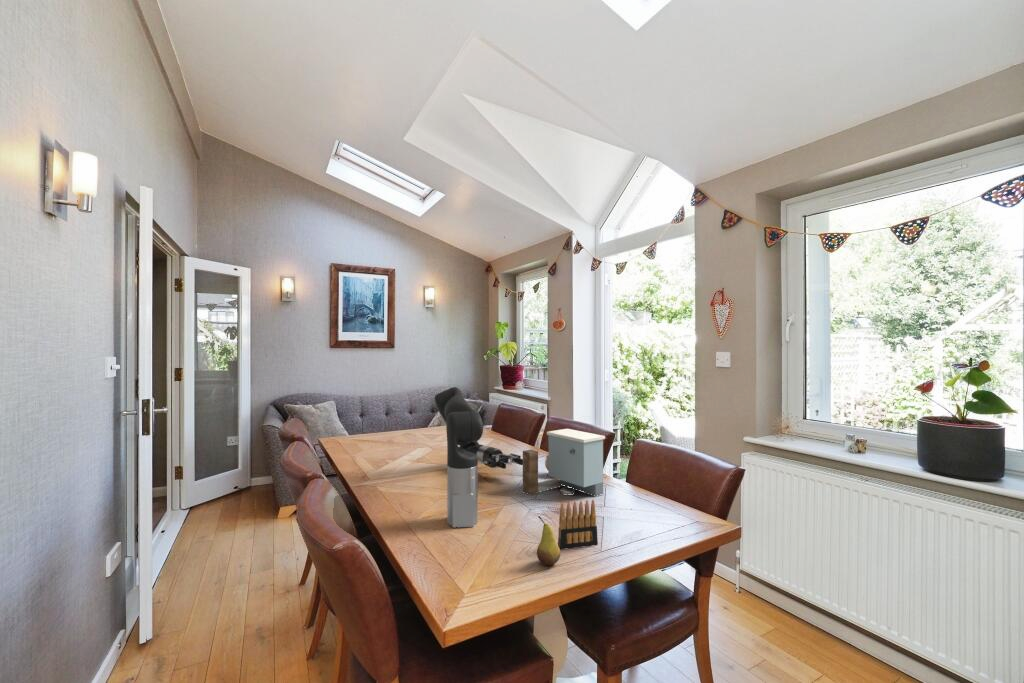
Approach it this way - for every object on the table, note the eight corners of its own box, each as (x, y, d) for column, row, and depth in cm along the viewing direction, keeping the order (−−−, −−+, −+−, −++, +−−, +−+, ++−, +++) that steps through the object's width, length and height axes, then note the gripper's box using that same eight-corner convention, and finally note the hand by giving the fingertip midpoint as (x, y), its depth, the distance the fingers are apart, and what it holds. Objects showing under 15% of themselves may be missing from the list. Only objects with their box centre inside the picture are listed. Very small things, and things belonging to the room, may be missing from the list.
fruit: (558, 570, 109) (558, 520, 109) (534, 567, 111) (534, 517, 111) (562, 560, 115) (562, 511, 115) (539, 557, 116) (539, 509, 116)
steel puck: (576, 495, 165) (576, 491, 165) (562, 496, 164) (562, 492, 164) (572, 491, 170) (572, 487, 170) (558, 492, 169) (558, 487, 169)
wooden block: (522, 492, 168) (522, 451, 168) (553, 484, 178) (553, 445, 178) (529, 494, 165) (529, 453, 165) (561, 486, 174) (560, 447, 175)
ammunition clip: (595, 542, 125) (594, 497, 125) (597, 545, 123) (597, 500, 124) (557, 546, 123) (557, 501, 123) (560, 549, 121) (560, 503, 121)
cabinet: (545, 488, 173) (545, 432, 173) (567, 482, 180) (567, 428, 180) (582, 501, 158) (582, 440, 158) (605, 494, 165) (605, 436, 165)
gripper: (475, 449, 184) (499, 456, 171) (503, 444, 192) (528, 451, 180) (475, 468, 184) (499, 477, 171) (503, 462, 192) (528, 470, 180)
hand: (514, 464), depth 175 cm, fingers open, 8 cm apart
